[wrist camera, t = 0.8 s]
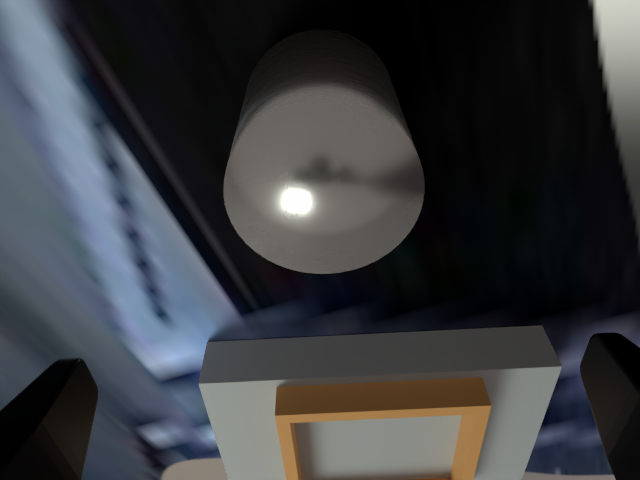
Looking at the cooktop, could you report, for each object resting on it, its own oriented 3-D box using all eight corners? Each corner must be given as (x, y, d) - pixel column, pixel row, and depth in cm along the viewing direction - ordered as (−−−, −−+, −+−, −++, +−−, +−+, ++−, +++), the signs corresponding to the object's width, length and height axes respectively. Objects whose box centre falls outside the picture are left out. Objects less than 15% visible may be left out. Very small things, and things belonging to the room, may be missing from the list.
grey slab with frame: (542, 325, 25) (576, 394, 22) (506, 443, 31) (529, 511, 28) (207, 341, 25) (192, 412, 22) (238, 456, 32) (230, 524, 28)
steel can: (396, 24, 17) (432, 96, 12) (391, 166, 20) (417, 268, 15) (235, 34, 17) (205, 109, 12) (256, 174, 20) (239, 278, 15)
